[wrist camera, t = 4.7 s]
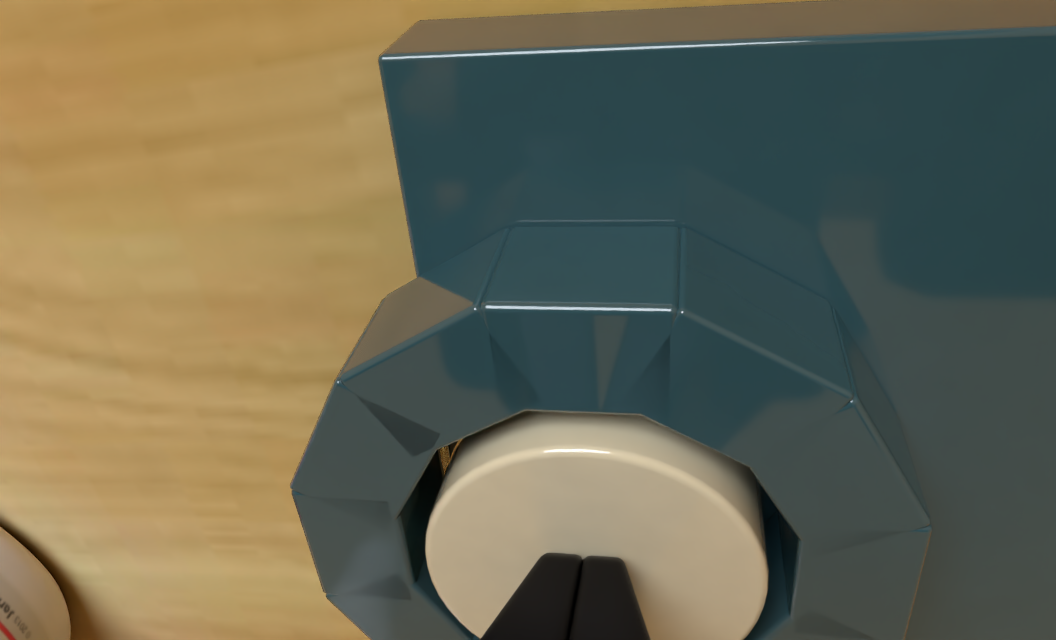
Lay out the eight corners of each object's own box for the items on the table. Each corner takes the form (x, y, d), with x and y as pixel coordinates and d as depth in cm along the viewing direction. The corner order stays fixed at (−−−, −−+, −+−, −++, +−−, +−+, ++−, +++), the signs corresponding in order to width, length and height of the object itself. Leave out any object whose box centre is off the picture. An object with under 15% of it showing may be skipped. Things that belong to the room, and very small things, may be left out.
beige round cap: (474, 568, 11) (446, 670, 10) (436, 350, 9) (396, 441, 8) (749, 589, 11) (757, 702, 9) (770, 358, 9) (784, 460, 7)
